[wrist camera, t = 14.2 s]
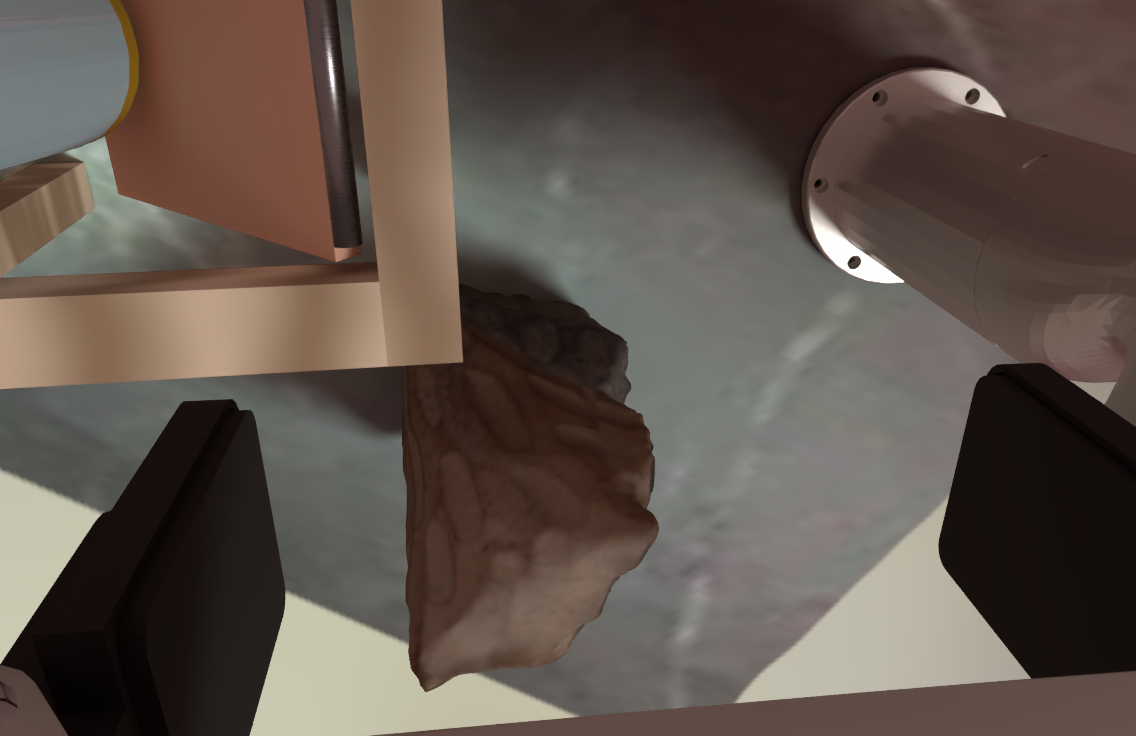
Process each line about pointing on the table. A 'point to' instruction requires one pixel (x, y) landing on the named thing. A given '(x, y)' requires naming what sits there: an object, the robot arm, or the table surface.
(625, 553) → the tree stump
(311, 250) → the trapdoor
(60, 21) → the bottle
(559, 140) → the table surface
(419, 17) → the trapdoor frame
